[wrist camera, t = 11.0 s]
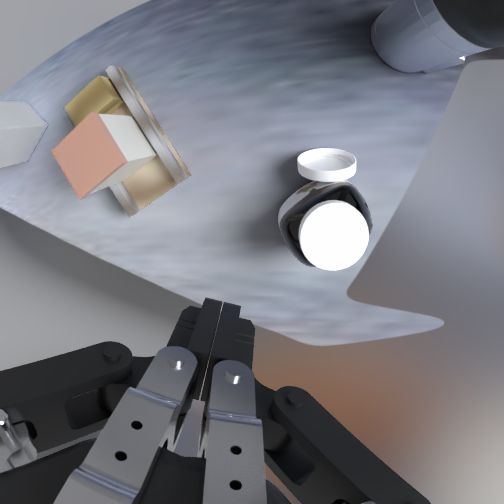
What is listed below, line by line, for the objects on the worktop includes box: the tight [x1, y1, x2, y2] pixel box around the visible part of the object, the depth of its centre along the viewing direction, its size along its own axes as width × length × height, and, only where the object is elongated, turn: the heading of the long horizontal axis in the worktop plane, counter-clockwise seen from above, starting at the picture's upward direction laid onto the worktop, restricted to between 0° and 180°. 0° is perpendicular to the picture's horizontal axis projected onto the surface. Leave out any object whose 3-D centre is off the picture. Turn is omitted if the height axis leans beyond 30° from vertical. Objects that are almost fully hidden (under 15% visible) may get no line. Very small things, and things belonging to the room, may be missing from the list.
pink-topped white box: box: [52, 112, 158, 199], centre depth 32 cm, size 6×6×11 cm
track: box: [63, 65, 191, 217], centre depth 36 cm, size 18×9×6 cm, turn 31°
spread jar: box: [278, 148, 372, 271], centre depth 34 cm, size 12×11×12 cm
